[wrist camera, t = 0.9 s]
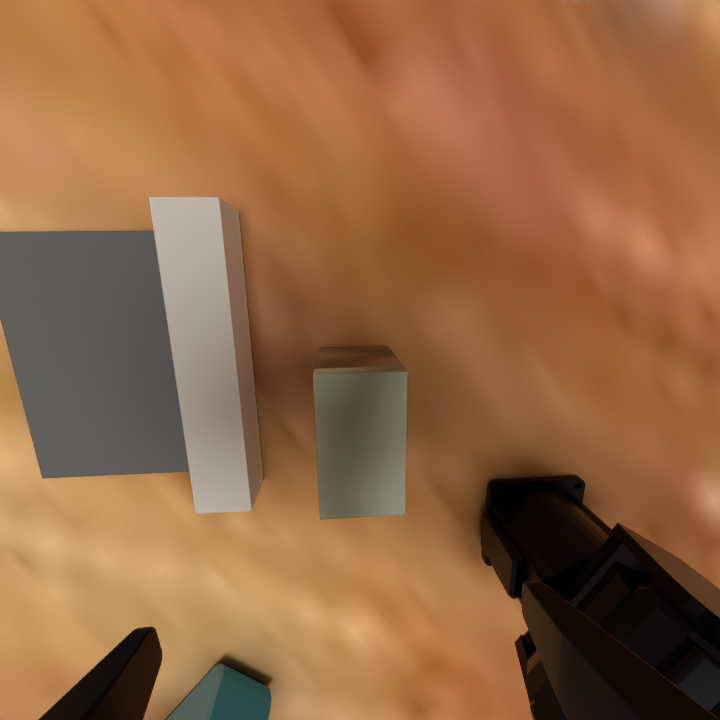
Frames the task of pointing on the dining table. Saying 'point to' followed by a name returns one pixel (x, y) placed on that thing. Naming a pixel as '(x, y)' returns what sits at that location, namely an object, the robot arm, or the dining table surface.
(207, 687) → the data package
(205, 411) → the rail
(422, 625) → the dining table surface
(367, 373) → the block
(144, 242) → the mat
